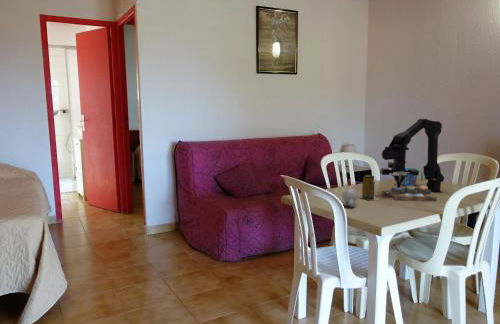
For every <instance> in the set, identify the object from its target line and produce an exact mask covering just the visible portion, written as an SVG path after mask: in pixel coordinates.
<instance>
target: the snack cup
mask: <svg viewBox="0 0 500 324" xmlns="http://www.w3.org/2000/svg"><path fill="white" fill-rule="evenodd" d="M408 169H417V170H418V171H419V173H421V179H420V181H423V180H424V173H423V171H421V170H419V168H414V167H405V170H408ZM417 178H418V175H412V174H407V177H405V178H404V180H403V182H402V183H401V185H402V186H403V187H407V186H415V187H416V183H417V180H418V179H417Z"/></svg>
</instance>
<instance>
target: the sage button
mask: <svg viewBox="0 0 500 324" xmlns="http://www.w3.org/2000/svg"><path fill="white" fill-rule="evenodd" d="M406 188H407V190H415V189H416V185H415V186H406Z"/></svg>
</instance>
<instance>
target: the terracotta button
mask: <svg viewBox="0 0 500 324" xmlns="http://www.w3.org/2000/svg"><path fill="white" fill-rule="evenodd" d="M418 188H419V190H428V187H427V186H426V185H419V187H418Z"/></svg>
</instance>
